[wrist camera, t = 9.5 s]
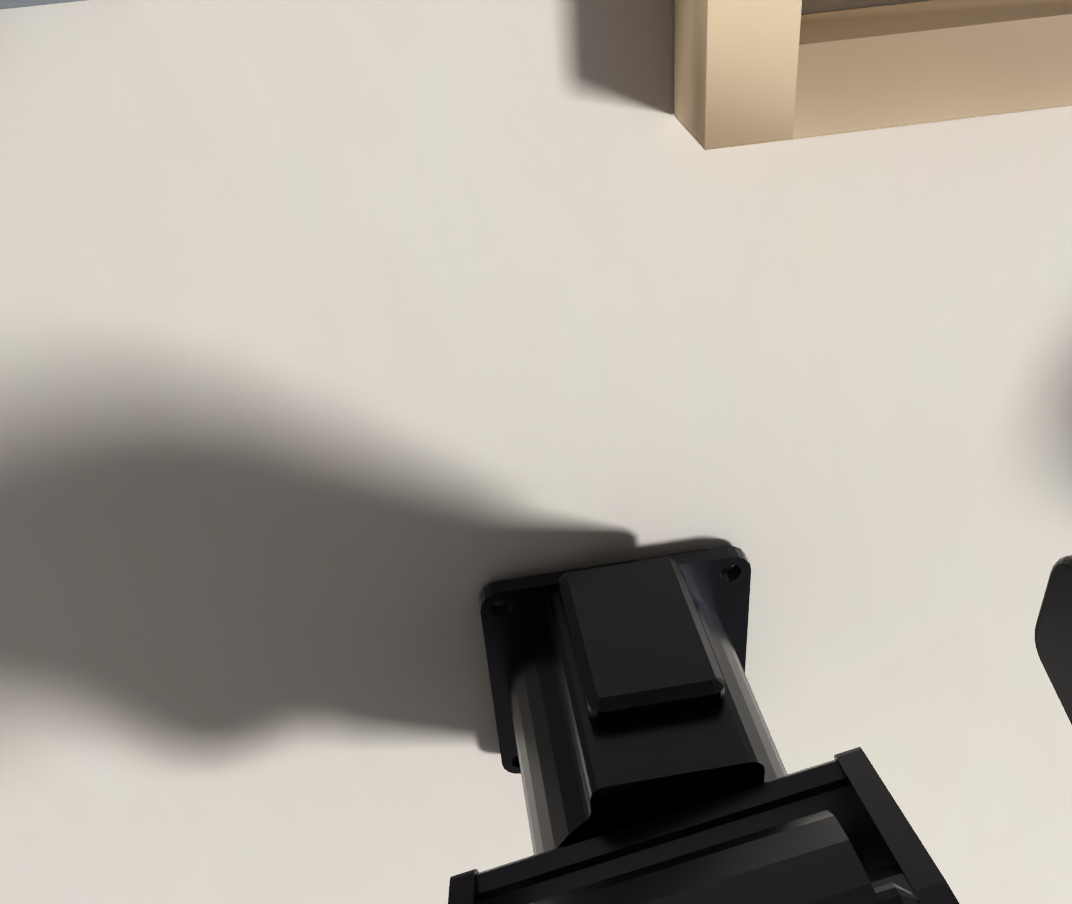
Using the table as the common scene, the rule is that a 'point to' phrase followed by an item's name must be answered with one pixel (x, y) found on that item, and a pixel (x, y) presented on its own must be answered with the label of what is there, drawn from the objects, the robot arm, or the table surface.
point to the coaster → (29, 3)
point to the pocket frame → (863, 65)
